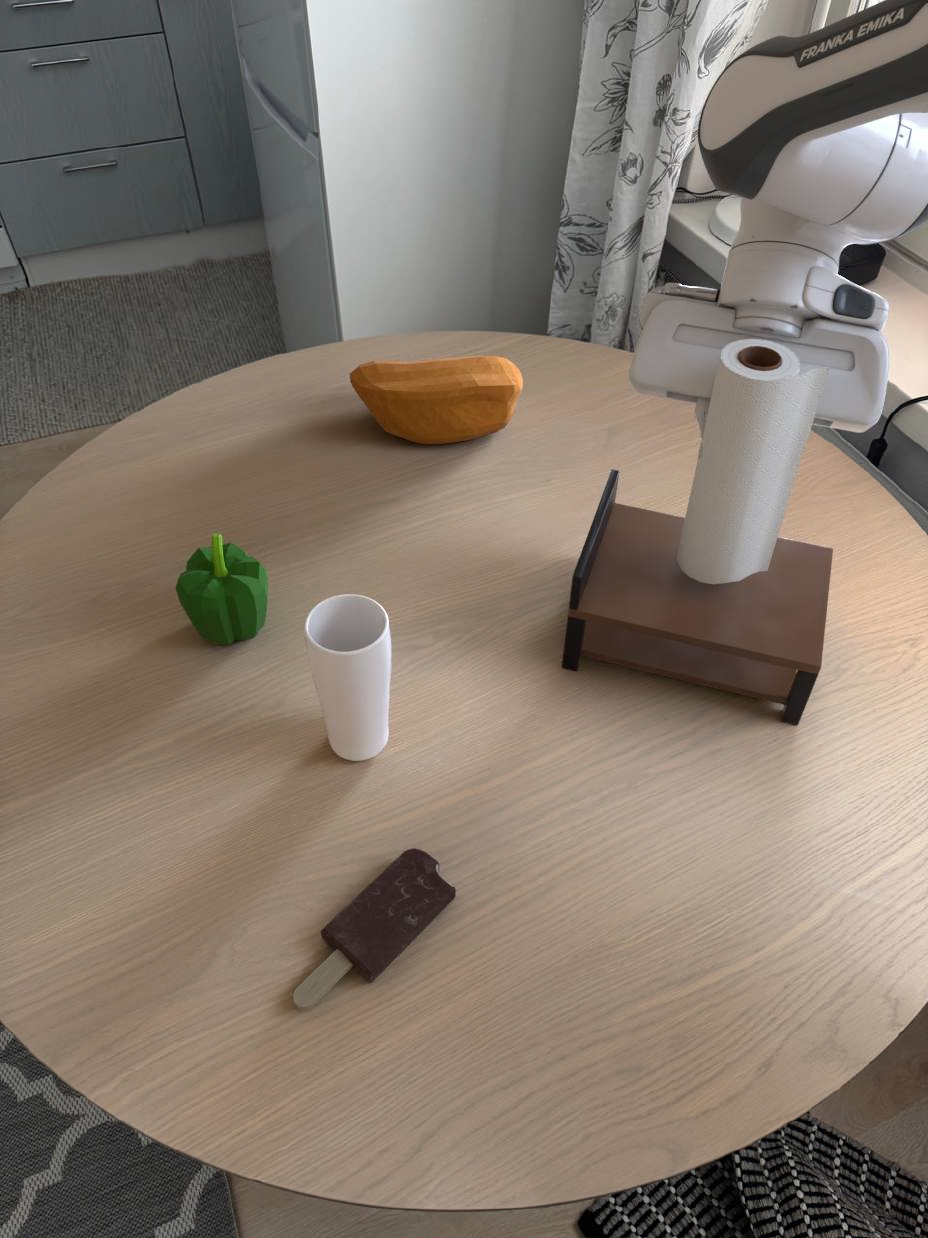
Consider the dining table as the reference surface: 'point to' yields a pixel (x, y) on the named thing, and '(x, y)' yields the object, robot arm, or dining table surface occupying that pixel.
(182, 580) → the bell pepper
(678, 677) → the rack
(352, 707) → the drinking glass
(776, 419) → the paper towel roll
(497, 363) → the bread
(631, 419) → the dining table surface
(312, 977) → the ice cream bar
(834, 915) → the dining table surface
